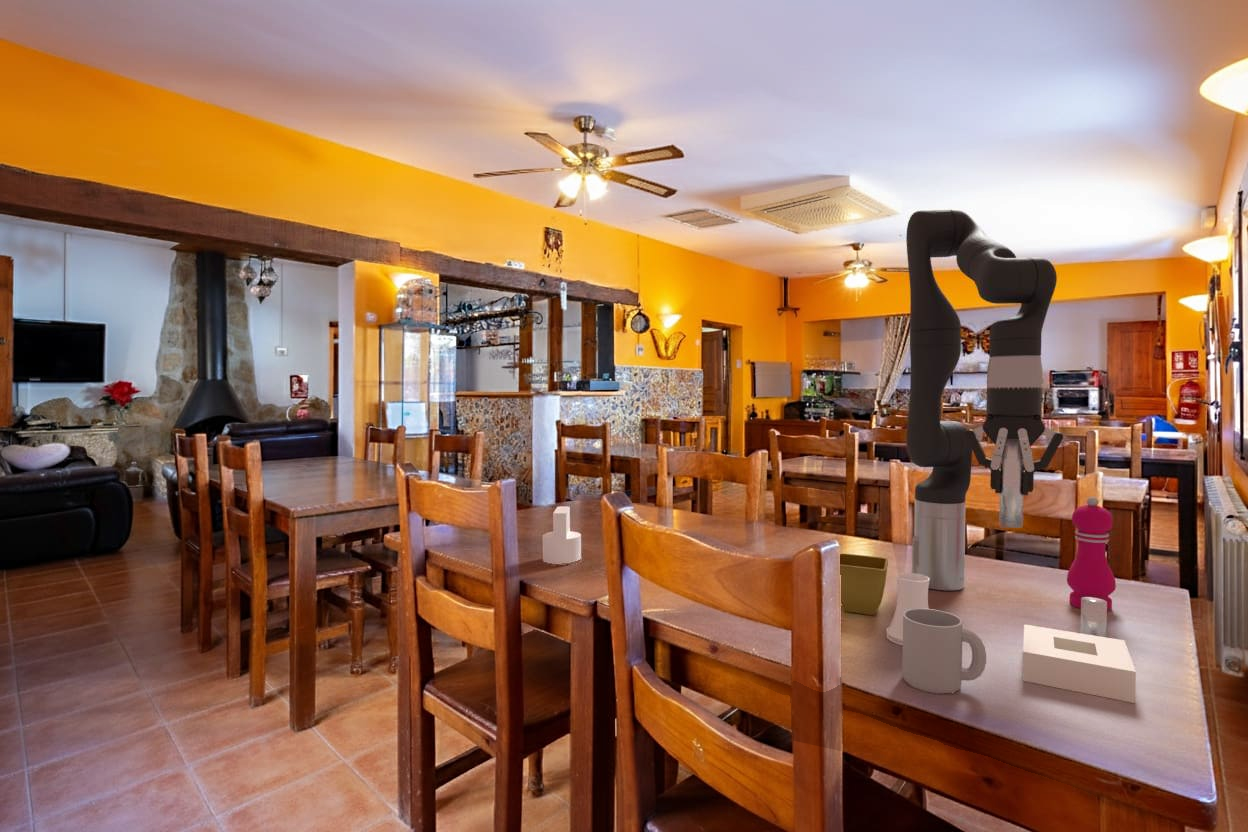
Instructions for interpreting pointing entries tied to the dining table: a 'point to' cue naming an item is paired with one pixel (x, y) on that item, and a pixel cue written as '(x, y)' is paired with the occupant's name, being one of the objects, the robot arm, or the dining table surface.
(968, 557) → the dining table surface
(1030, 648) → the socket block
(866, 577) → the flower pot
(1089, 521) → the pepper mill
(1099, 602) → the short pin
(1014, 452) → the tall pin
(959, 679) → the cup
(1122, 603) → the dining table surface
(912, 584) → the vase
